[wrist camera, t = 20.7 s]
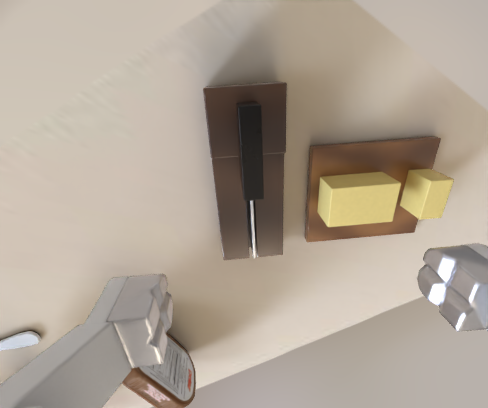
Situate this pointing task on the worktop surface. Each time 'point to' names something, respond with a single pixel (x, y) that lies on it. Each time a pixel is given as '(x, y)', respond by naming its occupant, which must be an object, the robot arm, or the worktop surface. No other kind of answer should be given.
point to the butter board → (366, 161)
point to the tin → (165, 379)
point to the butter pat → (426, 193)
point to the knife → (251, 157)
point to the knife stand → (229, 172)
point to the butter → (357, 199)
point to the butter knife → (20, 340)
